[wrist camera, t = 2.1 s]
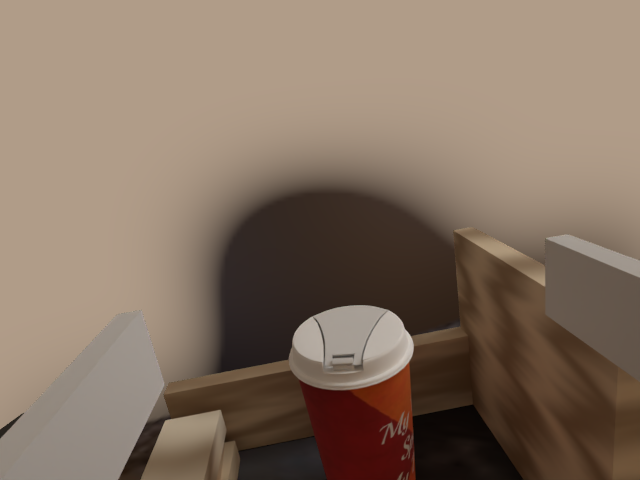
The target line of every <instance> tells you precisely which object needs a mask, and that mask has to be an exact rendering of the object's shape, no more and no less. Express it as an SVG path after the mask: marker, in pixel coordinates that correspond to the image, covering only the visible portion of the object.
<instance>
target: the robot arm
mask: <svg viewBox="0 0 640 480" xmlns="http://www.w3.org/2000/svg"><path fill="white" fill-rule="evenodd" d="M545 315H547V316H548V317H549V318H551V319H552V320H554V321H555V322H556V323H558V324H559V325H561V326H562V327H563V328H565V329H566V330H568V331H569V332H570V333H572V334H573V335H575V336H576V337H577V338H579V339H580V340H582V341H583V342H584V343H586V344H587V345H589V346H590V347H591V348H593V349H594V350H596V351H597V352H598V353H600V354H601V355H603V356H604V357H605V358H607V359H608V360H610V361H611V362H612V363H614V364H615V365H617V366H618V367H620V368H621V369H622V370H624V371H625V372H627V373H628V374H629V375H631V376H632V377H634V378H635V379H636V380H638V381H639V382H640V261H639V260H636V259H634V258H631V257H628V256H626V255H623V254H620V253H617V252H614V251H612V250H609V249H606V248H604V247H601V246H598V245H596V244H593V243H590V242H587V241H585V240H582V239H579V238H576V237H574V236H571V235H568V234H567V235H561V236H556V237H550V238H545ZM164 385H165V384H164V381H163V377H162V374H161V371H160V368H159V365H158V361H157V358H156V355H155V352H154V349H153V345H152V343H151V339H150V336H149V332H148V329H147V326H146V323H145V320H144V316H143V313H142V310H139V311H133V312H129V313H122V314H118V315H116V316H115V317H114V318H113V319H112V321H111V322H110V323H109V324H108V325H107V326H106V327H105V328H104V329H103V330H102V331H101V332H100V333H99V334H98V336H97V337H95V339H94V340H93V341H92V342H91V343H90V344H89V345H88V346H87V347H86V348H85V349H84V350H83V351H82V353H80V354H79V356H78V357H77V358H76V359H75V360H74V361H73V362H72V363H71V364H70V365H69V366H68V367H67V368H66V370H64V372H63V373H62V374H61V375H60V376H59V377H58V378H57V379H56V380H55V381H54V382H53V383H52V384H51V385H50V386H49V387H48V389H47V390H46V391H45V392H44V393H43V394H42V395H41V396H40V397H39V398H38V399H37V400H36V401H35V402H34V403H33V404H32V406H31V407H30V408H29V409H28V410H27V411H26V412H25V413H23V414H21V415H20V416H18V417H17V418H16V419H14V420H13V421H11V422H10V423H9V424H7V425H6V426H5V427H3V428H2V429H0V480H118V479H119V477H120V474H121V472H122V470H123V468H124V466H125V464H126V462H127V460H128V458H129V456H130V454H131V452H132V450H133V448H134V446H135V444H136V442H137V440H138V438H139V436H140V434H141V432H142V430H143V428H144V426H145V424H146V422H147V420H148V417H149V415H150V413H151V411H152V409H153V407H154V405H155V403H156V401H157V399H158V397H159V395H160V393H161V391H162V389H163V387H164Z"/></svg>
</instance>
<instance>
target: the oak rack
mask: <svg viewBox="0 0 640 480" xmlns="http://www.w3.org/2000/svg"><path fill="white" fill-rule="evenodd" d="M453 233H454V246H455V259H456V272H457V285H458V298H459V311H460V325H461V327H457V328H451V329H446V330H441V331H436V332H431V333H425V334H420V335H415V336H411V338H412V340H413V344H414V351H413V355H412V357H411V359H410V361H409V365H410V383H411V401H412V416H417V415H422V414H427V413H432V412H437V411H442V410H447V409H452V408H457V407H462V406H467V405H472V404H473V405H474V407H475V408H476V410H477V411H478V413H479V414H480V416H481V417H482V419H483V420H484V422H485V423H486V425H487V426H488V428H489V429H490V430H491V432H492V433H493V435H494V436H495V438H496V439H497V441H498V442H499V444H500V445H501V447H502V448H503V450H504V451H505V453H506V454H507V456H508V457H509V459H510V460H511V462H512V463H513V465H514V466H515V468H516V469H517V471H518V472H519V474H520V475H521V477H522V478H523V480H640V382H639V381H638V380H636V379H635V378H634V377H632V376H631V375H629V374H628V373H627V372H625V371H624V370H622V369H621V368H620V367H618V366H617V365H615V364H614V363H612V362H611V361H610V360H608V359H607V358H605V357H604V356H603V355H601V354H600V353H598V352H597V351H596V350H594V349H593V348H591V347H590V346H589V345H587V344H586V343H584V342H583V341H582V340H580V339H579V338H577V337H576V336H575V335H573V334H572V333H570V332H569V331H568V330H566V329H565V328H563V327H562V326H561V325H559V324H558V323H556V322H555V321H554V320H552V319H551V318H549V317H548V316H547V315H545V265H543V264H541V263H539V262H537V261H535V260H534V259H531V258H530V257H528V256H526V255H524V254H522V253H520V252H518V251H516V250H515V249H512V248H511V247H509V246H507V245H505V244H503V243H502V242H500V241H498V240H496V239H494V238H492V237H490V236H488V235H487V234H485V233H483V232H481V231H479V230H477V229H475V228H473V227H469V228H464V229H458V230H454V231H453ZM164 398H165V401H166V404H167V407H168V410H169V413H170V416H171V419H176V418H181V417H186V416H191V415H196V414H201V413H206V412H212V411H217V410H221V412H222V416H223V419H224V423H225V426H226V430H227V431H226V436H225V440H224V443H225V442H230V441H235V442H236V446H237V449H238V451H240V450H245V449H250V448H255V447H260V446H266V445H271V444H276V443H281V442H286V441H291V440H296V439H301V438H306V437H311V436H315V435H314V432H313V428H312V425H311V421H310V418H309V414H308V410H307V407H306V403H305V400H304V396H303V393H302V389H301V386H300V382H299V379H298V378H297V377H296V376H295V375H294V374H293V372H292V371H291V368H290V365H289V360H285V361H281V362H275V363H270V364H264V365H259V366H254V367H249V368H244V369H239V370H234V371H228V372H223V373H218V374H213V375H207V376H202V377H197V378H192V379H187V380H182V381H177V382H171V383H169V384H168V386H167V388H166V390H165V392H164Z"/></svg>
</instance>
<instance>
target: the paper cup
mask: <svg viewBox="0 0 640 480" xmlns="http://www.w3.org/2000/svg"><path fill="white" fill-rule="evenodd" d="M413 351H414V344H413V340H412V338H411V336H410V335H409V333H408V332H407V331H406V330H405V328H404V325H403V323H402V321H401V320H400V319H399V318H398V317H397V316H396V315H395V314H394V313H392V312H391V311H388V310H385V309H381V308H378V307H374V306H366V305H365V306H364V305H356V306H345V307H339V308H334V309H331V310H328V311H325V312H322V313H320V314H317V315H315V316H313V317H311V318H309V319H308V320H306V321H305V322H304V323H303V324H302V325H300V327H299V328H298V329H297V330H296V332H295V334H294V337H293V341H292V349H291V352H290V355H289V365H290V368H291V371H292V372H293V374H294V375H295V376H296V377H297V378H298V379H299V382H300V386H301V389H302V393H303V396H304V400H305V403H306V407H307V410H308V414H309V418H310V421H311V425H312V428H313V432H314V435H315V439H316V442H317V446H318V449H319V453H320V456H321V460H322V463H323V467H324V470H325V474H326V477H327V480H416V478H415V456H414V437H413V419H412V401H411V383H410V365H409V361H410V359H411V357H412V355H413Z"/></svg>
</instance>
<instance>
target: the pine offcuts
mask: <svg viewBox="0 0 640 480" xmlns="http://www.w3.org/2000/svg"><path fill="white" fill-rule="evenodd" d="M226 431H227V430H226V426H225V423H224V419H223V416H222V412H221V410H217V411H212V412H206V413H201V414H196V415H191V416H186V417H181V418H176V419H171V420H166V421H165V423H164V425H163V428H162V430H161V432H160V435H159V437H158V439H157V442H156V444H155V447H154V449H153V451H152V454H151V456H150V458H149V461H148V463H147V466H146V468H145V470H144V473H143V475H142V477H141V480H237V479H238V472H239V465H240V456H239V453H238V449H237V446H236V442H235V441H230V442H225V443H224V440H225V436H226Z"/></svg>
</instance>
